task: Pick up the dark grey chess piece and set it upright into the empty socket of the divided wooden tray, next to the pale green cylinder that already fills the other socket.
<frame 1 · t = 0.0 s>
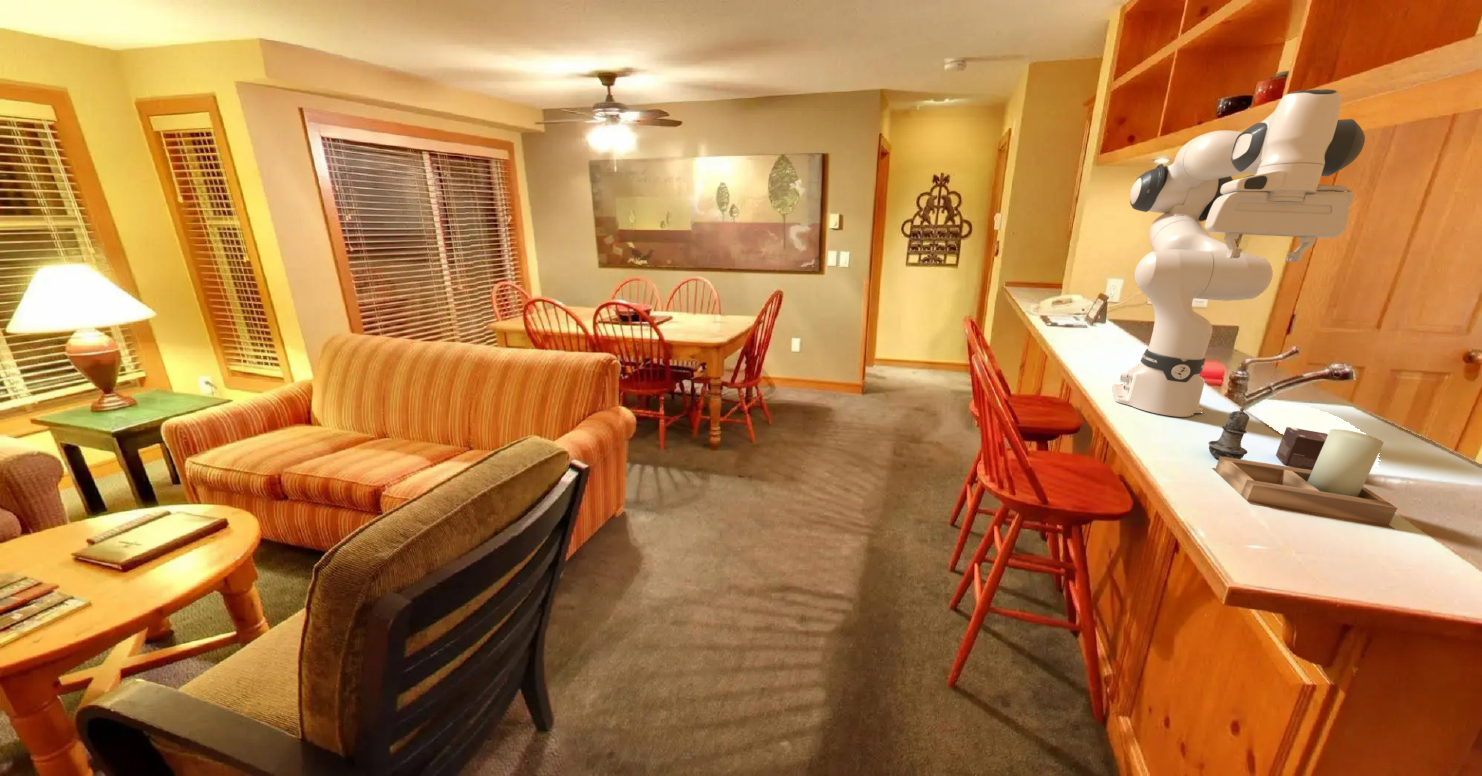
hand: (1262, 259, 103), 39 cm above the countertop, tool pointing down, fingers open, 8 cm apart
dark grey chess piece: (1221, 464, 106), on the countertop
box: (1297, 469, 105), on the countertop
divided wooden tray: (1292, 500, 93), on the countertop
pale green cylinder: (1326, 500, 91), resting on divided wooden tray
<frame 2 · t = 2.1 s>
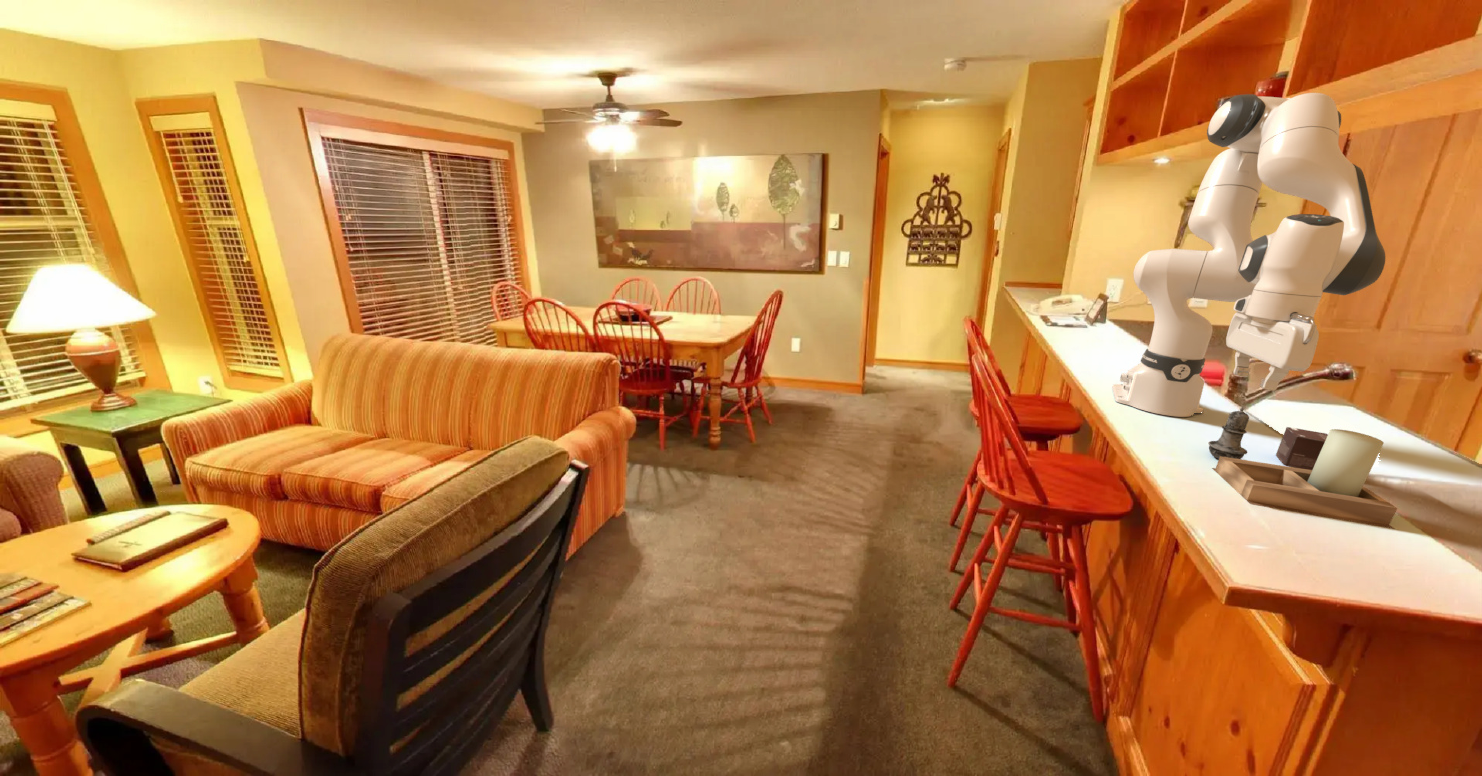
hand: (1253, 382, 100), 17 cm above the countertop, tool pointing down, fingers open, 8 cm apart
nothing on the countertop moved.
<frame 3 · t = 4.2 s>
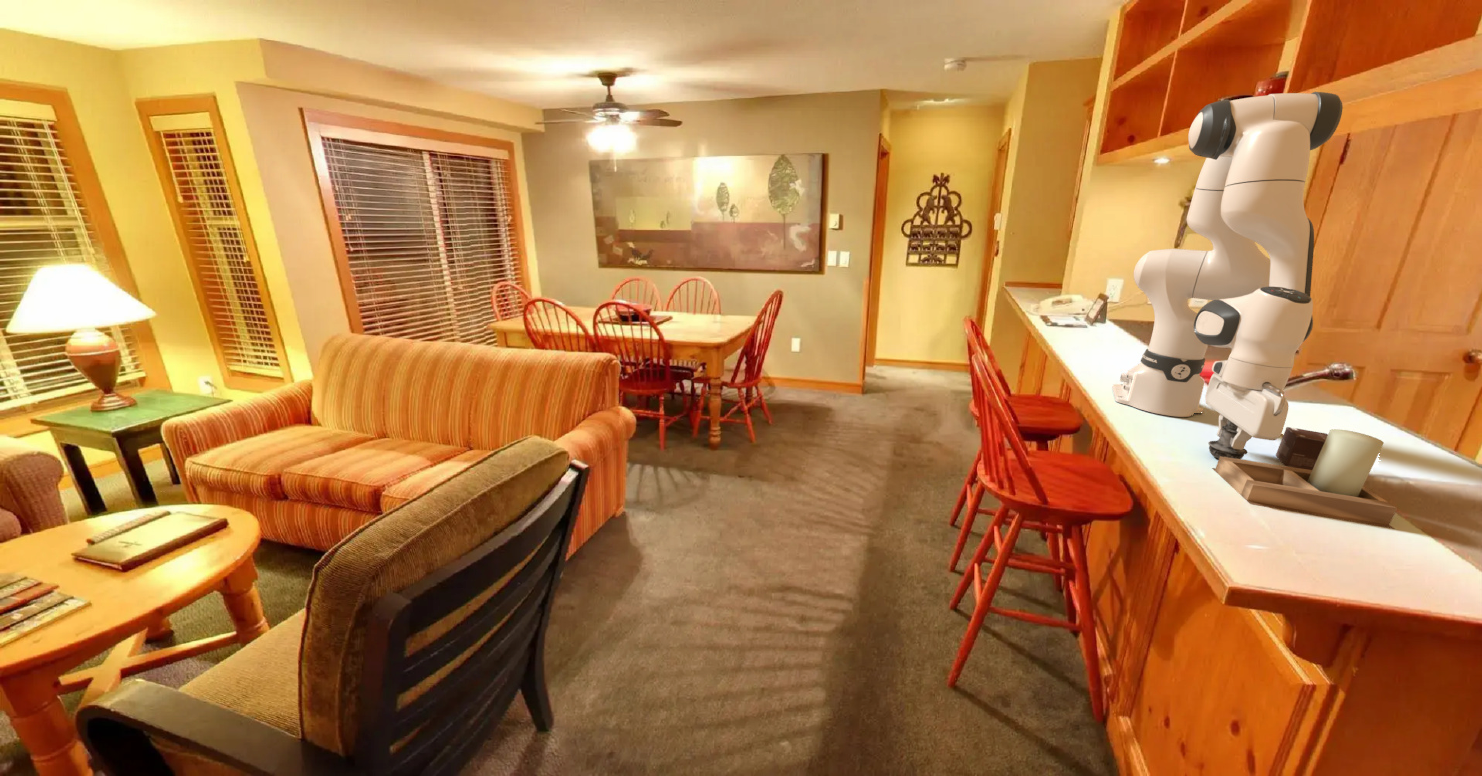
hand: (1229, 442, 104), 4 cm above the countertop, tool pointing down, fingers closed on dark grey chess piece, 3 cm apart
dark grey chess piece: (1221, 464, 106), on the countertop, touching gripper
everything else where it was.
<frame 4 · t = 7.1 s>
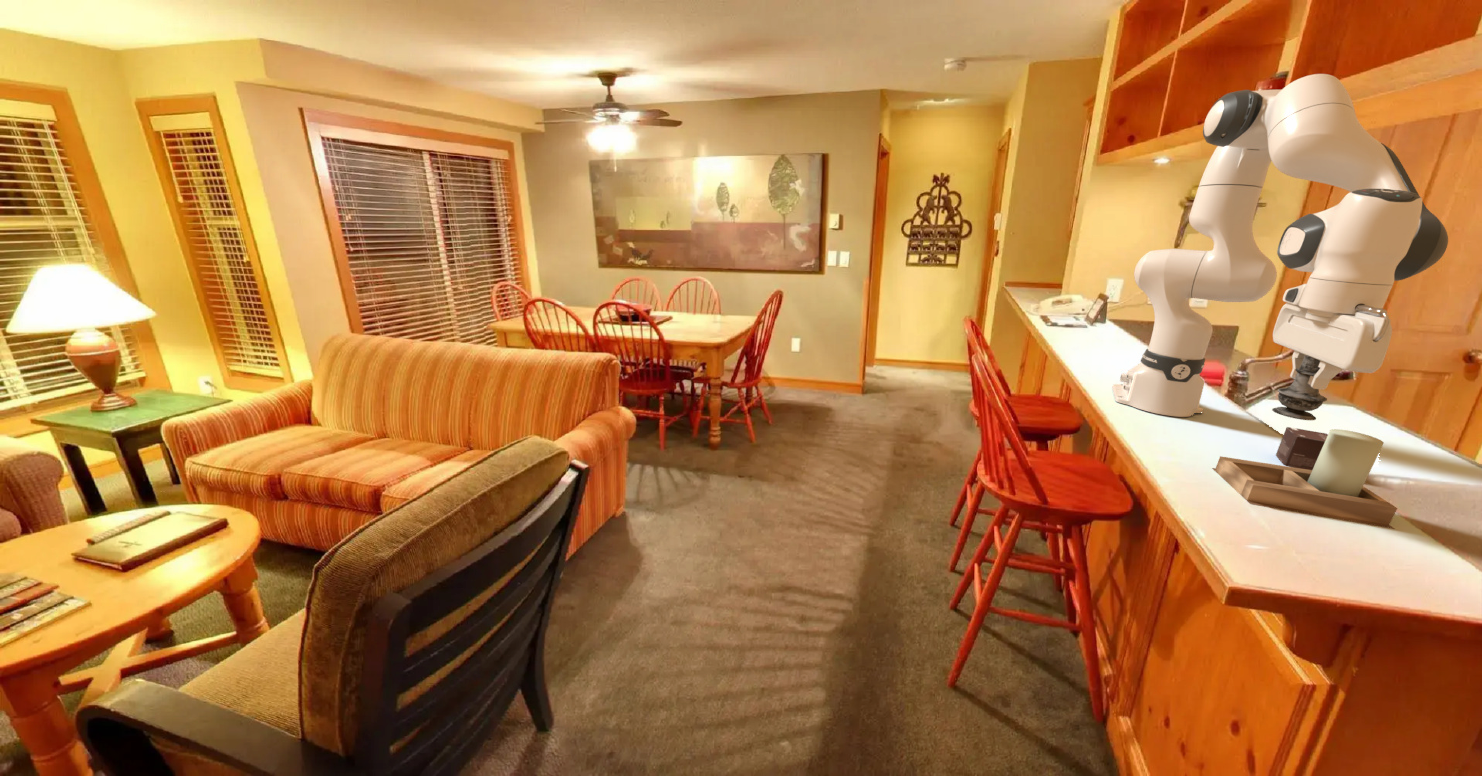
hand: (1306, 383, 87), 21 cm above the countertop, tool pointing down, fingers closed on dark grey chess piece, 3 cm apart
dark grey chess piece: (1293, 415, 89), point 15 cm above the countertop, touching gripper
everything else where it was.
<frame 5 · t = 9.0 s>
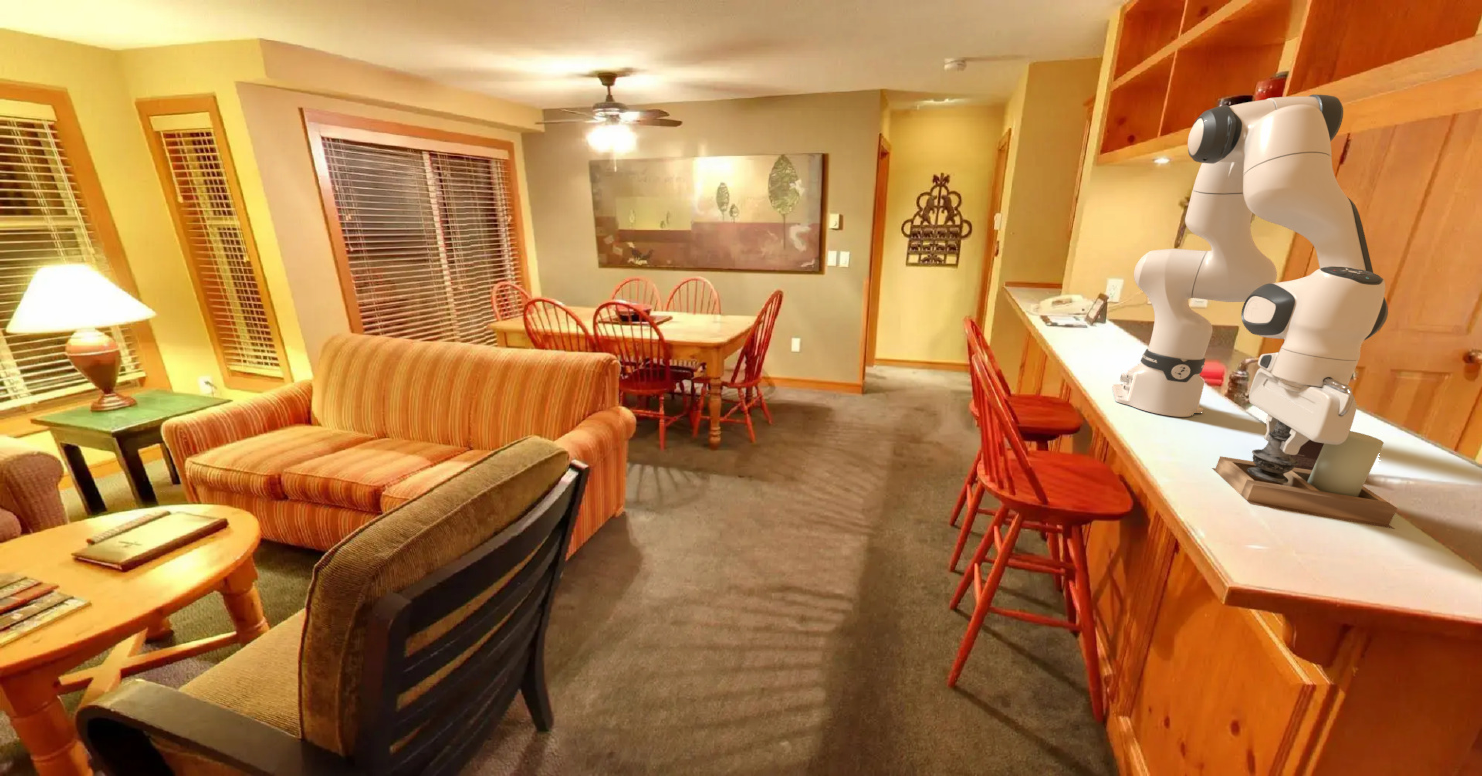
hand: (1279, 447, 91), 9 cm above the countertop, tool pointing down, fingers closed on dark grey chess piece, 3 cm apart
dark grey chess piece: (1266, 476, 93), point 4 cm above the countertop, touching gripper
everything else where it was.
when the fingers open (7 cm above the countertop, at t = 10.2 s): dark grey chess piece moves 1 cm, resting on divided wooden tray.
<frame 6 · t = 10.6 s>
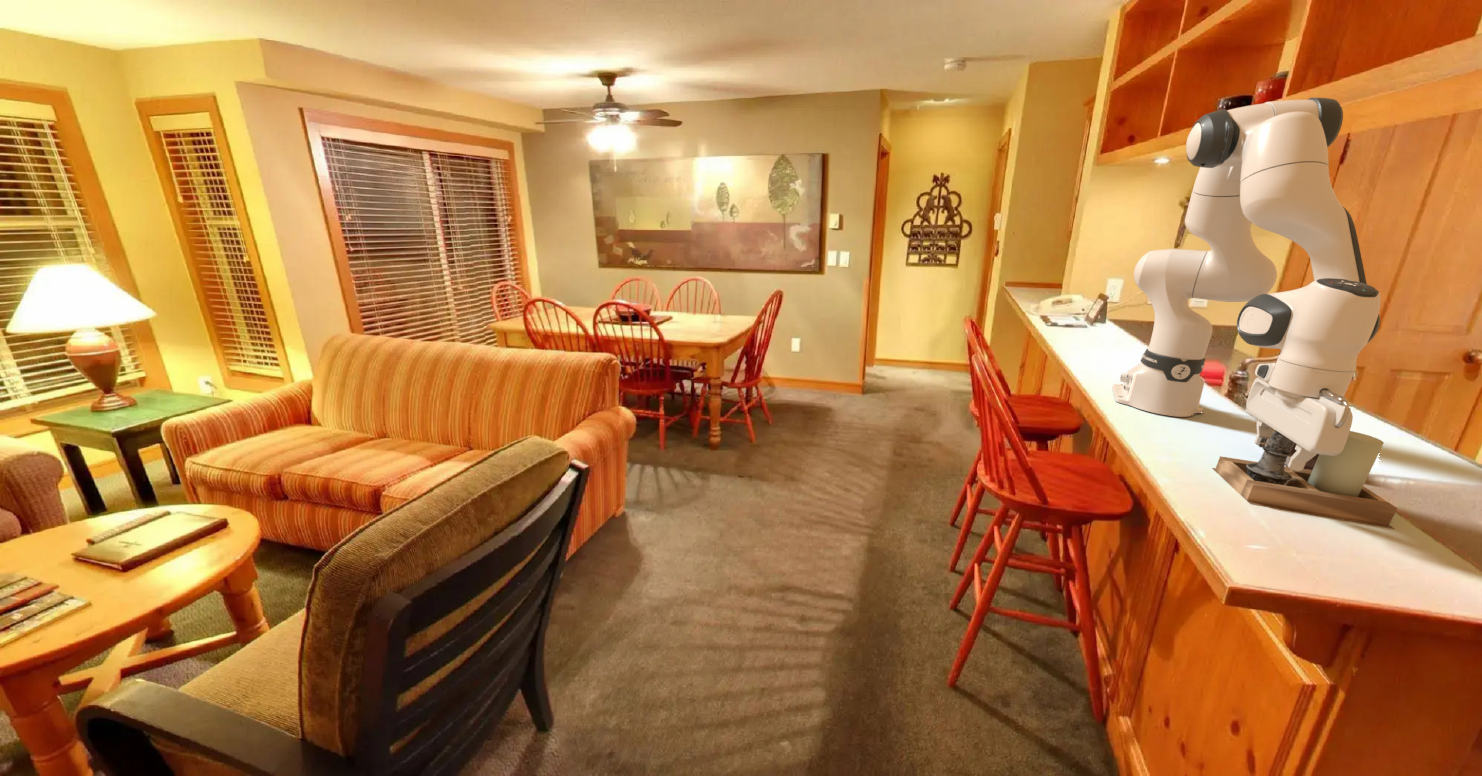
hand: (1276, 457, 92), 7 cm above the countertop, tool pointing down, fingers open, 8 cm apart
dark grey chess piece: (1260, 489, 94), point 1 cm above the countertop, touching divided wooden tray
everything else where it was.
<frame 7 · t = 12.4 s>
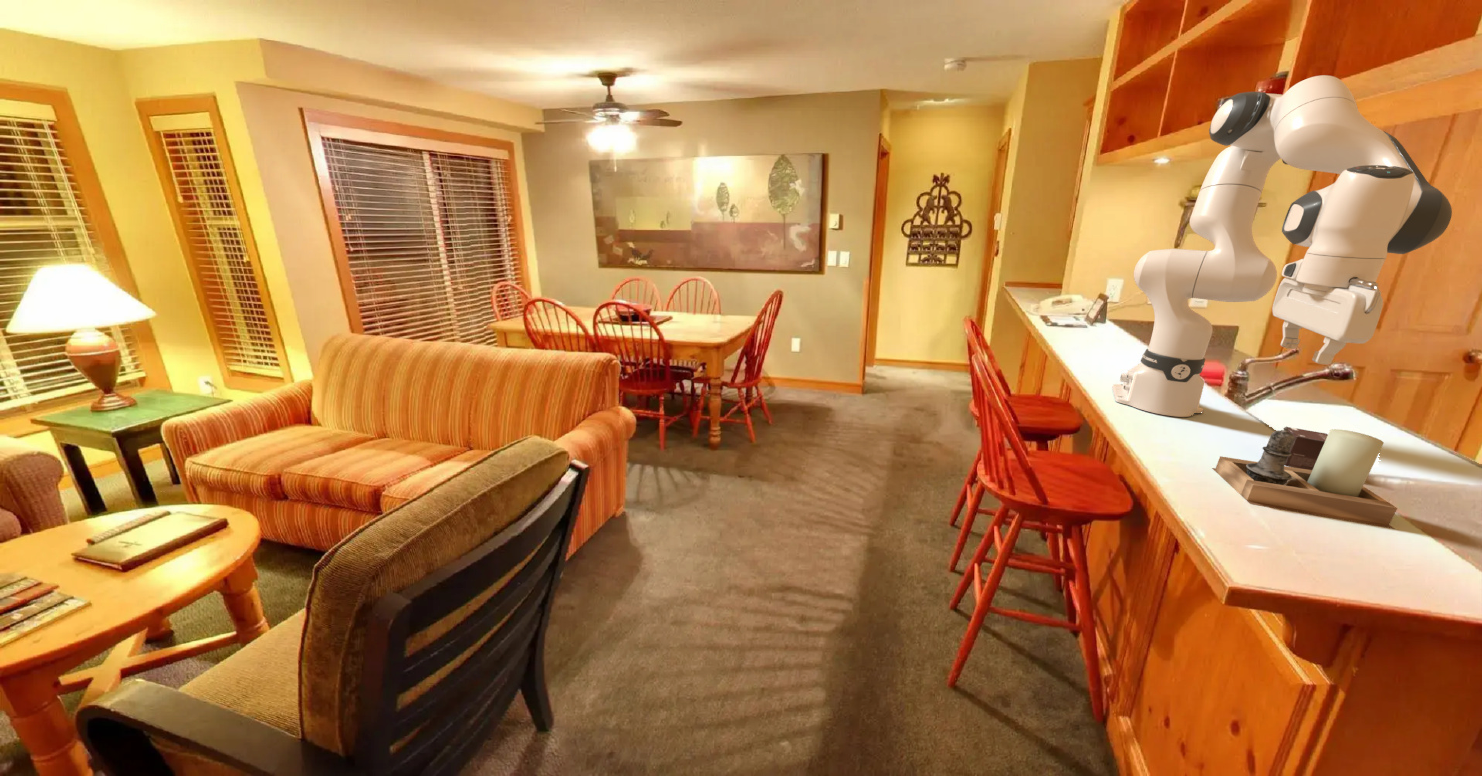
hand: (1303, 355, 91), 24 cm above the countertop, tool pointing down, fingers open, 8 cm apart
nothing on the countertop moved.
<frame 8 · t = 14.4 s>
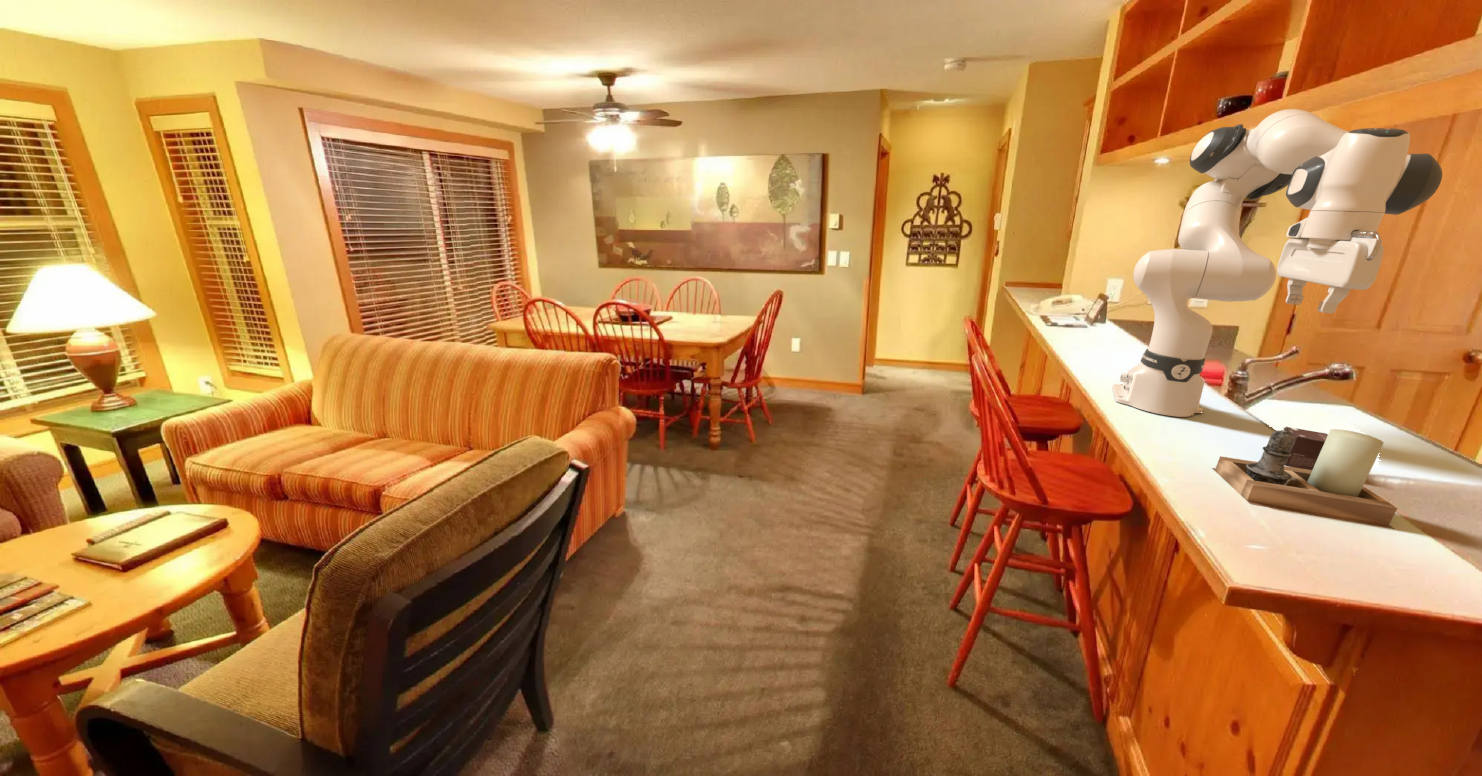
hand: (1308, 308, 97), 31 cm above the countertop, tool pointing down, fingers open, 8 cm apart
nothing on the countertop moved.
at the end: dark grey chess piece 0.5 cm from the target spot on the divided wooden tray, point 0.8 cm above the divided wooden tray's base; dark grey chess piece tilted 0°; the gripper is holding nothing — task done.
